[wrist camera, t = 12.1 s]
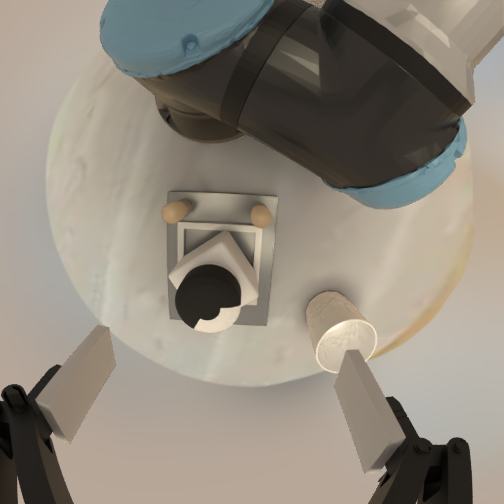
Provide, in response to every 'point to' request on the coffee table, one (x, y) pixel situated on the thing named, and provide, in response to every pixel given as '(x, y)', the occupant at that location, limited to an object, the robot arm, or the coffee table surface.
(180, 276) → the medicine bottle
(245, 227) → the peg board
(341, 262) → the coffee table surface
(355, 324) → the white cup
